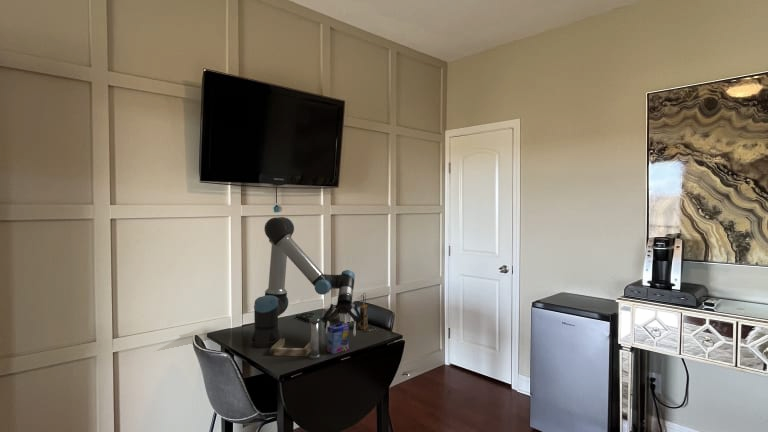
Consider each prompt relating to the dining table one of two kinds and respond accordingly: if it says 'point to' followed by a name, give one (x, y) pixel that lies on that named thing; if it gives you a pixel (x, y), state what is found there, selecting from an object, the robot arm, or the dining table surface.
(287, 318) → the dining table surface
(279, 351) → the notched board
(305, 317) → the disk drive
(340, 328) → the ink cartridge box
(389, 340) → the dining table surface
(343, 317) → the cup
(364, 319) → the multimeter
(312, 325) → the bobbin post
